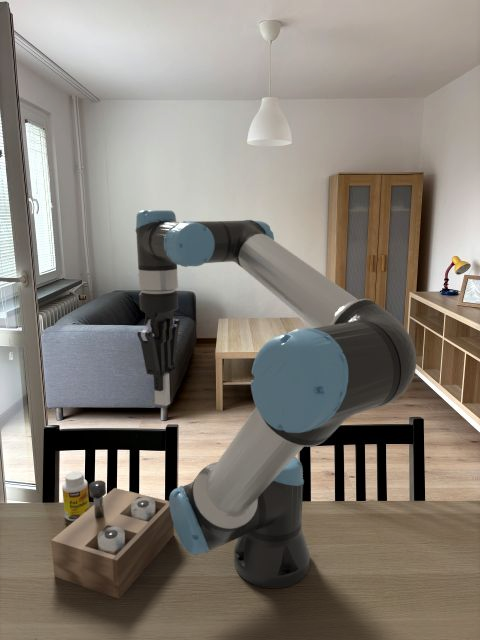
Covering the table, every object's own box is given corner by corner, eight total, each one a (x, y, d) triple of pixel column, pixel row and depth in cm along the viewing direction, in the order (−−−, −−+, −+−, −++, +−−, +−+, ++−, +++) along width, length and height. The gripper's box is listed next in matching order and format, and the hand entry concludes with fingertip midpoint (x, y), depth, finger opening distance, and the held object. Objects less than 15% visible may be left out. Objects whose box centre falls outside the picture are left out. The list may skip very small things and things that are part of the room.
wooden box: (173, 535, 111) (172, 502, 109) (119, 598, 92) (116, 560, 91) (116, 519, 116) (114, 487, 114) (54, 576, 98) (51, 540, 96)
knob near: (131, 570, 100) (129, 529, 98) (116, 588, 95) (114, 544, 93) (110, 564, 101) (108, 523, 99) (94, 580, 97) (91, 538, 95)
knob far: (161, 538, 109) (159, 499, 108) (148, 552, 105) (146, 512, 103) (141, 532, 111) (139, 494, 109) (128, 546, 107) (126, 507, 105)
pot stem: (110, 513, 105) (108, 482, 103) (101, 521, 102) (98, 490, 101) (97, 509, 106) (95, 479, 105) (88, 518, 103) (85, 487, 102)
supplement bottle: (68, 525, 114) (65, 484, 112) (61, 513, 119) (58, 473, 116) (92, 517, 117) (90, 476, 115) (85, 505, 122) (82, 466, 119)
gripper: (159, 285, 107) (162, 391, 112) (123, 294, 95) (129, 412, 100) (190, 286, 104) (193, 395, 109) (158, 296, 92) (162, 418, 97)
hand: (162, 403), depth 104 cm, fingers closed
